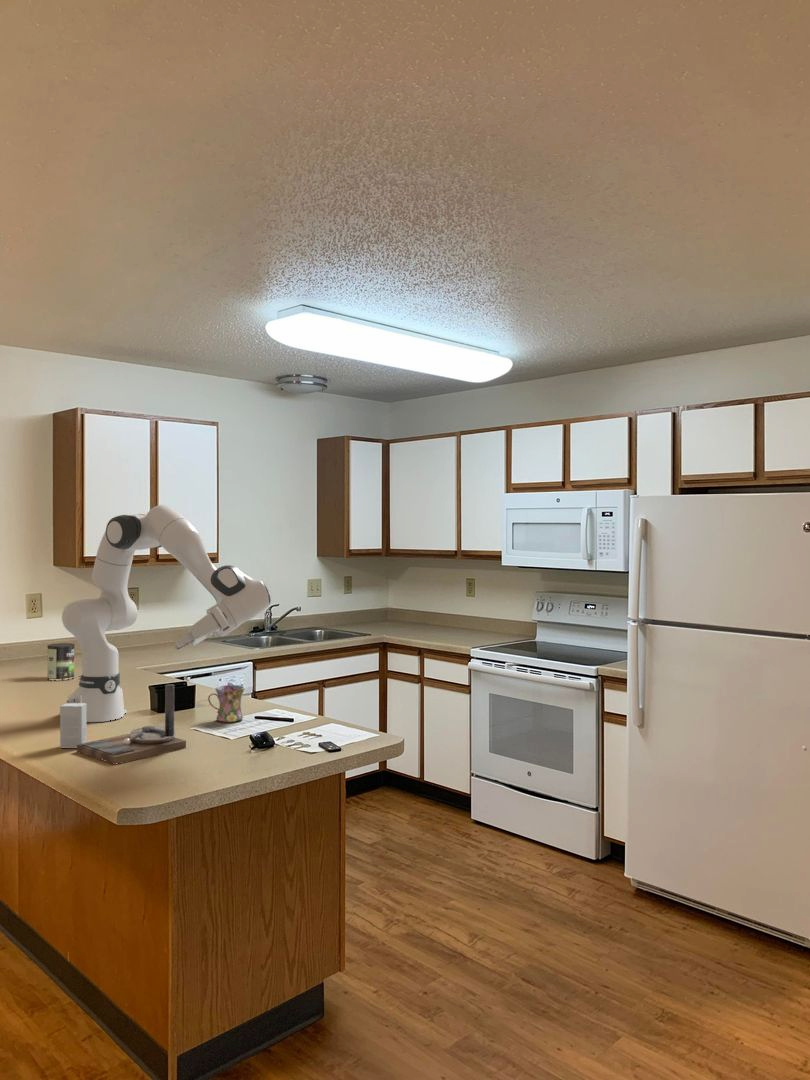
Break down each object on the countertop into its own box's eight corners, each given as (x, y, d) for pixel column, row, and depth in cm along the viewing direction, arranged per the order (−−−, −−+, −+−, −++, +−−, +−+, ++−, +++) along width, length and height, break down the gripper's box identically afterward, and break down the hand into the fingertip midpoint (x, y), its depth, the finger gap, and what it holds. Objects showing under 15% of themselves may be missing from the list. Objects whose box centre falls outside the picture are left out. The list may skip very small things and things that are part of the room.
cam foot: (109, 750, 214) (109, 690, 214) (142, 732, 234) (142, 677, 234) (158, 752, 213) (158, 692, 212) (187, 734, 232) (187, 678, 232)
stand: (76, 751, 221) (76, 743, 221) (147, 736, 238) (147, 728, 238) (115, 764, 209) (115, 755, 209) (185, 747, 226) (186, 739, 226)
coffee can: (78, 676, 335) (78, 643, 335) (67, 681, 325) (68, 646, 325) (54, 676, 335) (54, 642, 335) (42, 681, 325) (42, 646, 325)
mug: (237, 715, 266) (237, 683, 266) (249, 721, 259) (249, 688, 258) (202, 720, 259) (202, 687, 259) (213, 726, 252) (213, 692, 252)
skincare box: (87, 745, 228) (87, 702, 228) (81, 749, 224) (81, 706, 224) (65, 745, 228) (65, 702, 228) (59, 749, 224) (59, 706, 224)
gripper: (211, 615, 237) (169, 641, 232) (216, 605, 218) (170, 633, 213) (222, 633, 237) (180, 659, 232) (228, 625, 218) (183, 653, 213)
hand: (176, 646), depth 223 cm, fingers open, 8 cm apart
